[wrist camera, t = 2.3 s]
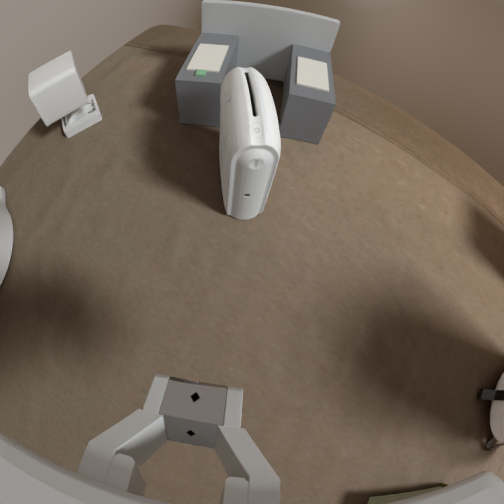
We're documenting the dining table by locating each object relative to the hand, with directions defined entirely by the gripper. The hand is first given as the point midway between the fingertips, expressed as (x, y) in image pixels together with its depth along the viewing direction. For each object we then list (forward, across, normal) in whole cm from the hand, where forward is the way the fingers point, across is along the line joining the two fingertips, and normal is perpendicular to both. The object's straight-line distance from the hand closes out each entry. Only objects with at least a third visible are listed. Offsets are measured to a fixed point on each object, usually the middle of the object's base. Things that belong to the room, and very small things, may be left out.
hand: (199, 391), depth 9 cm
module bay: (+34, +1, -11) cm, 36 cm away
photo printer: (+25, +1, -2) cm, 25 cm away
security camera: (+30, +25, -7) cm, 39 cm away
